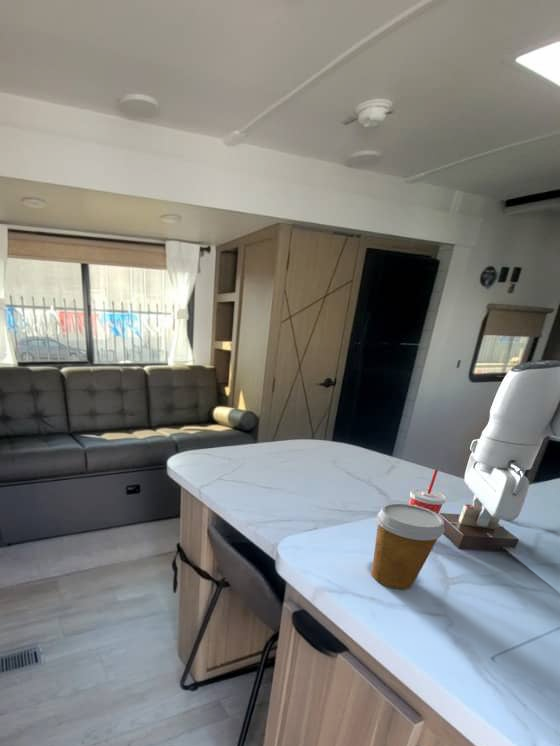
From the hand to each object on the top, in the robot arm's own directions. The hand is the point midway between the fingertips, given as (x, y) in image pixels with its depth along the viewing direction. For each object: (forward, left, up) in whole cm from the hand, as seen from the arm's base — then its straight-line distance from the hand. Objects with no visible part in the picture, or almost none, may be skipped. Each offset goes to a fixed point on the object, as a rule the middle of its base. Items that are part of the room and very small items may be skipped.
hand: (478, 521), depth 80 cm
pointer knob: (0, 0, -1) cm, 1 cm away
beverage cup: (+11, 0, -4) cm, 12 cm away
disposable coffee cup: (+22, +17, -4) cm, 28 cm away
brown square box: (0, 0, -4) cm, 4 cm away
